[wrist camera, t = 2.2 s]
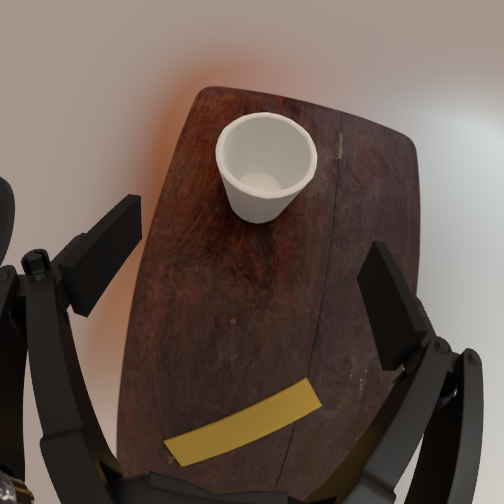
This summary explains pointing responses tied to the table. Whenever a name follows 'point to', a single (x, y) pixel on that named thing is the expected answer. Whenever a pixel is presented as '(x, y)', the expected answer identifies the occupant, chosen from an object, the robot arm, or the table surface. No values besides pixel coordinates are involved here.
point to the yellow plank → (245, 424)
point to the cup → (264, 164)
